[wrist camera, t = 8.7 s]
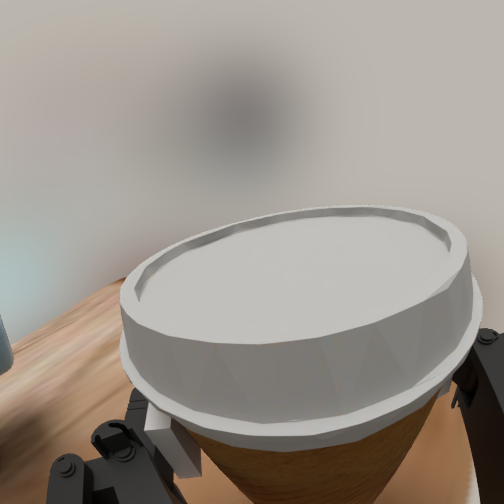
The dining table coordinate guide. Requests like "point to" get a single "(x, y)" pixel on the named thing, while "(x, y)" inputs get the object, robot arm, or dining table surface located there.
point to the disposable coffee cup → (304, 343)
